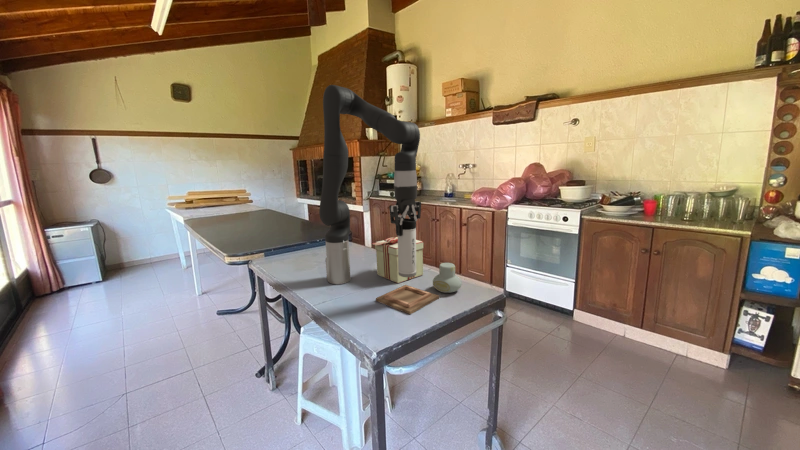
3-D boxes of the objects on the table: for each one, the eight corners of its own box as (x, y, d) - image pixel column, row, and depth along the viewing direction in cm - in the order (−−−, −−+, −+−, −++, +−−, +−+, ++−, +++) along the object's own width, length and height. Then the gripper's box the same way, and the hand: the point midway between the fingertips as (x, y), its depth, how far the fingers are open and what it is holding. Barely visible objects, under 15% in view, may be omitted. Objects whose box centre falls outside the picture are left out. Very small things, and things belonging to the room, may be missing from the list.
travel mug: (396, 271, 116) (395, 216, 112) (415, 270, 117) (414, 216, 113) (398, 278, 110) (396, 220, 106) (417, 277, 111) (416, 219, 106)
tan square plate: (375, 300, 115) (375, 295, 114) (405, 287, 126) (405, 282, 126) (410, 314, 104) (410, 308, 104) (439, 298, 116) (439, 292, 115)
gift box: (395, 265, 152) (395, 229, 149) (425, 274, 139) (425, 235, 136) (367, 274, 141) (366, 236, 137) (397, 286, 128) (396, 243, 124)
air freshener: (429, 290, 123) (428, 265, 121) (440, 283, 129) (440, 259, 127) (454, 297, 116) (455, 270, 114) (465, 289, 123) (465, 264, 121)
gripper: (410, 182, 115) (411, 228, 118) (382, 185, 104) (383, 236, 108) (427, 183, 110) (427, 231, 113) (399, 186, 99) (400, 239, 103)
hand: (406, 233), depth 110 cm, fingers closed on travel mug, 6 cm apart
